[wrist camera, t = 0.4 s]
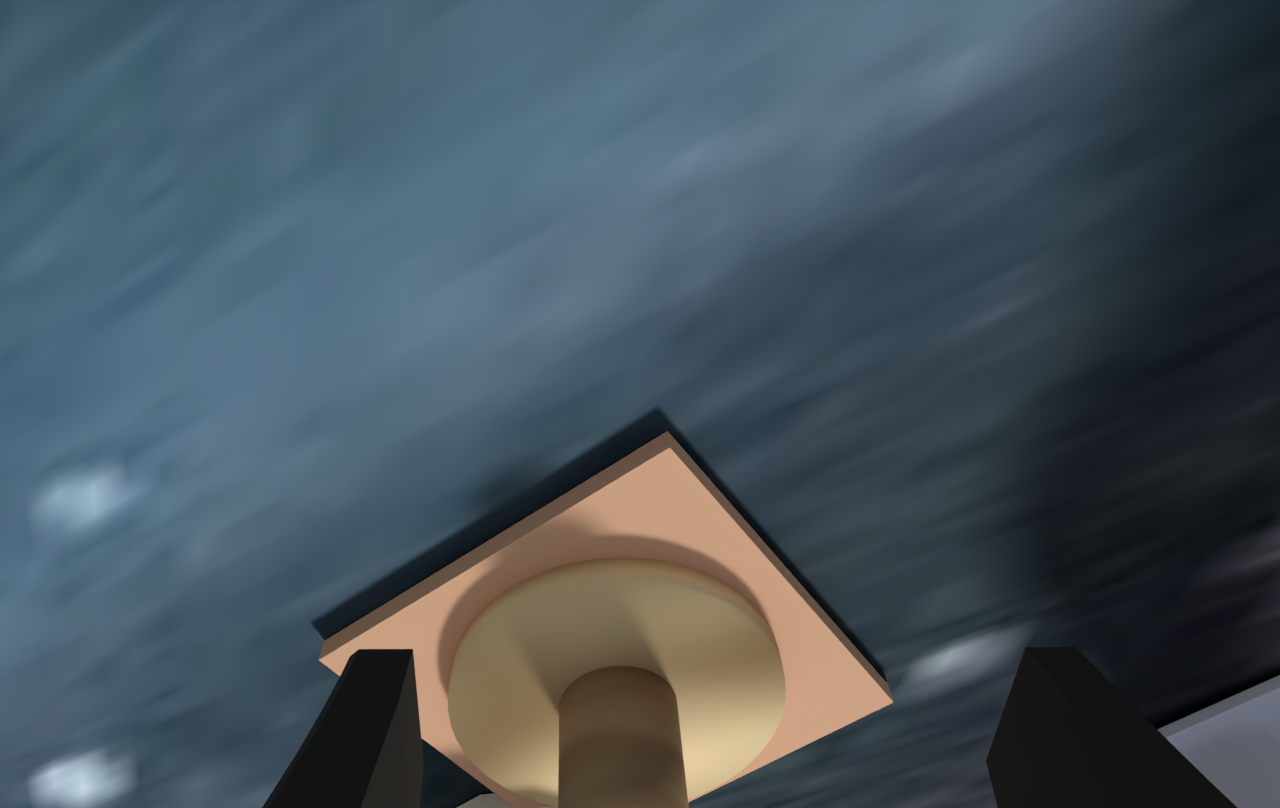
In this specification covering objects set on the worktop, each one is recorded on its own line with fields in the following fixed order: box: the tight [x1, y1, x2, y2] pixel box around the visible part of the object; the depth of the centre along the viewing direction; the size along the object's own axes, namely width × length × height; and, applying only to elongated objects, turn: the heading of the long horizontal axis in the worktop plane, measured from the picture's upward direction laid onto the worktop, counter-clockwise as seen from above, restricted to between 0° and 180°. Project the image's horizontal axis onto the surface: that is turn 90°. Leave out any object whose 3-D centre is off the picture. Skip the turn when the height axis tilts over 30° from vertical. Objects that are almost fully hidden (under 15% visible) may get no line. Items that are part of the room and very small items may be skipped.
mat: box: [319, 431, 893, 808], centre depth 26 cm, size 10×10×1 cm
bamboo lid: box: [448, 558, 786, 808], centre depth 24 cm, size 8×8×4 cm
